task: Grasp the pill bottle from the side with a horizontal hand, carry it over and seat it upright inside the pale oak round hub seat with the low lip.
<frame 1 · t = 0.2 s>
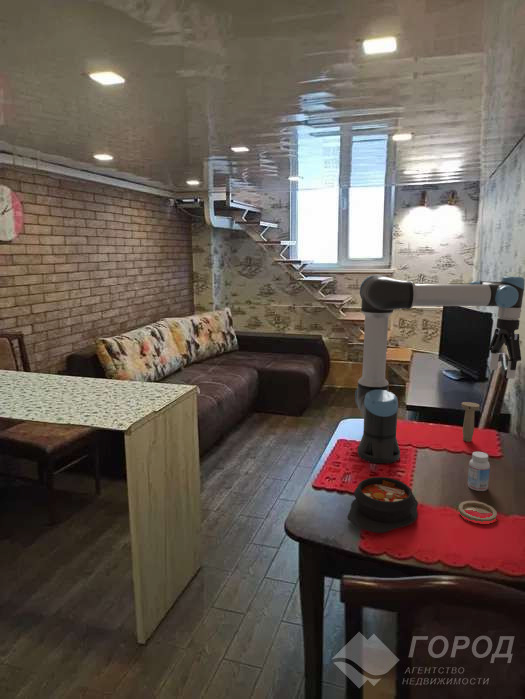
hand: (501, 373, 187), 27 cm above the table, tool pointing down, fingers open, 13 cm apart
hub seat: (477, 514, 141), on the table
handle: (467, 441, 193), on the table
pill bottle: (477, 487, 157), on the table
casserole: (383, 516, 141), on the table
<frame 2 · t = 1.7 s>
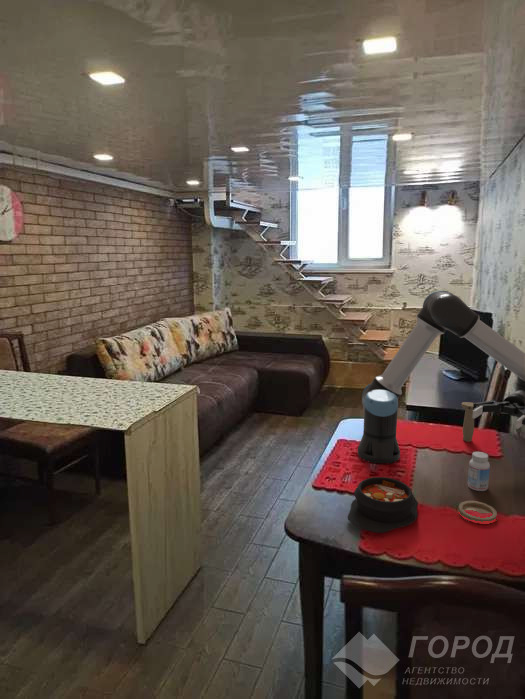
hand: (494, 419, 159), 20 cm above the table, tool horizontal, fingers open, 13 cm apart
nothing on the table moved.
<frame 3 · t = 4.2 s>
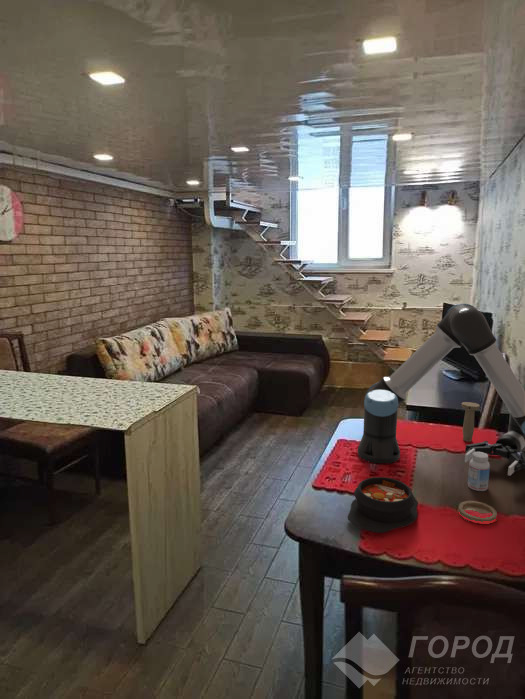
hand: (486, 464, 158), 6 cm above the table, tool horizontal, fingers open, 13 cm apart
nothing on the table moved.
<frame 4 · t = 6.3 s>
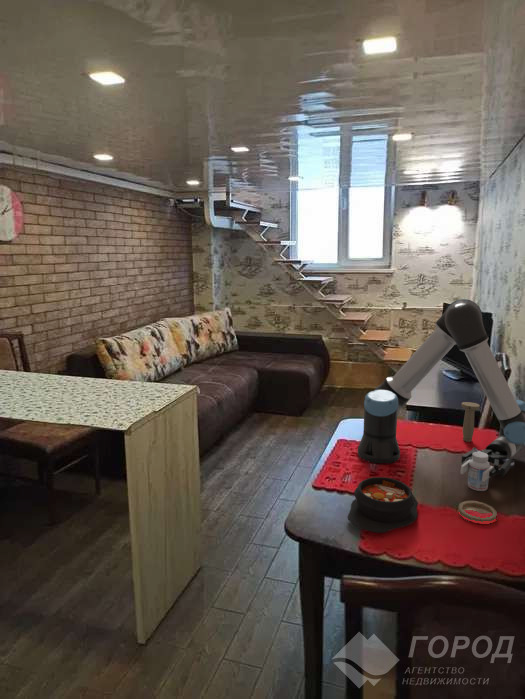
hand: (472, 473, 152), 7 cm above the table, tool horizontal, fingers closed on pill bottle, 6 cm apart
pill bottle: (477, 487, 157), on the table, touching gripper
everything else where it was.
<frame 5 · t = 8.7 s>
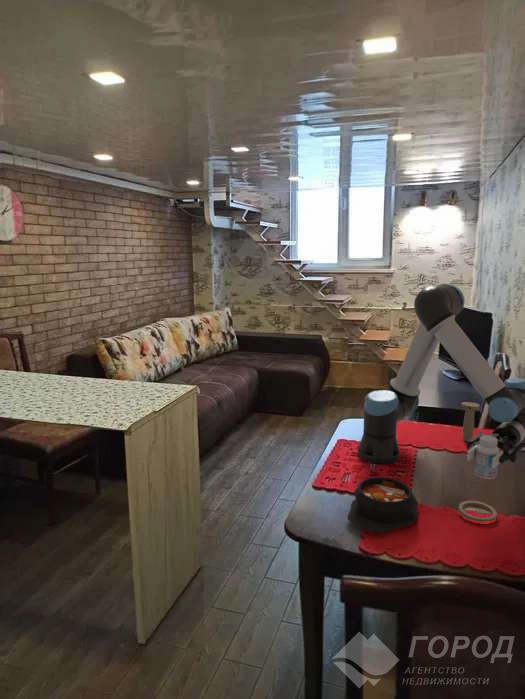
hand: (480, 459, 136), 18 cm above the table, tool horizontal, fingers closed on pill bottle, 6 cm apart
pill bottle: (485, 475, 141), point 11 cm above the table, touching gripper
everything else where it was.
when the fingers open (8 cm above the table, at t = 11.1 s): pill bottle drops 1 cm, resting on hub seat.
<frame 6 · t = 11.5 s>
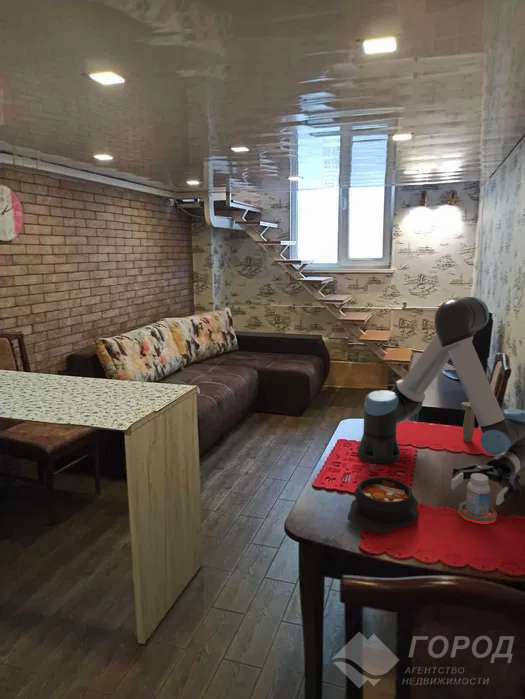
hand: (474, 492, 137), 9 cm above the table, tool horizontal, fingers open, 12 cm apart
pill bottle: (476, 513, 141), resting on hub seat
everything else where it was.
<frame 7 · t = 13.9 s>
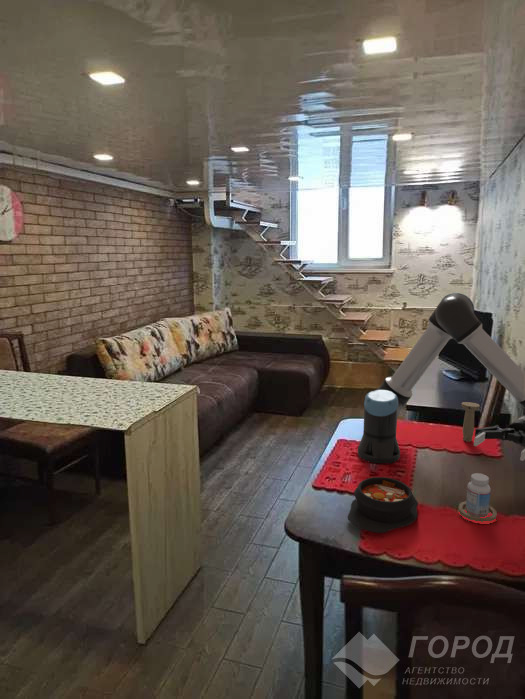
hand: (497, 448, 147), 16 cm above the table, tool horizontal, fingers open, 13 cm apart
nothing on the table moved.
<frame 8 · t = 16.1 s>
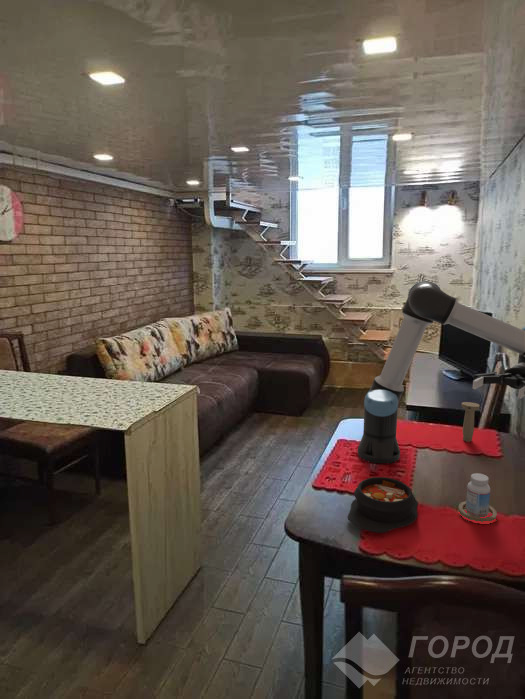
hand: (496, 389, 152), 32 cm above the table, tool horizontal, fingers open, 13 cm apart
nothing on the table moved.
at the end: pill bottle 0.2 cm from the hub seat (horizontally); pill bottle tilted 0°; the gripper is holding nothing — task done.
